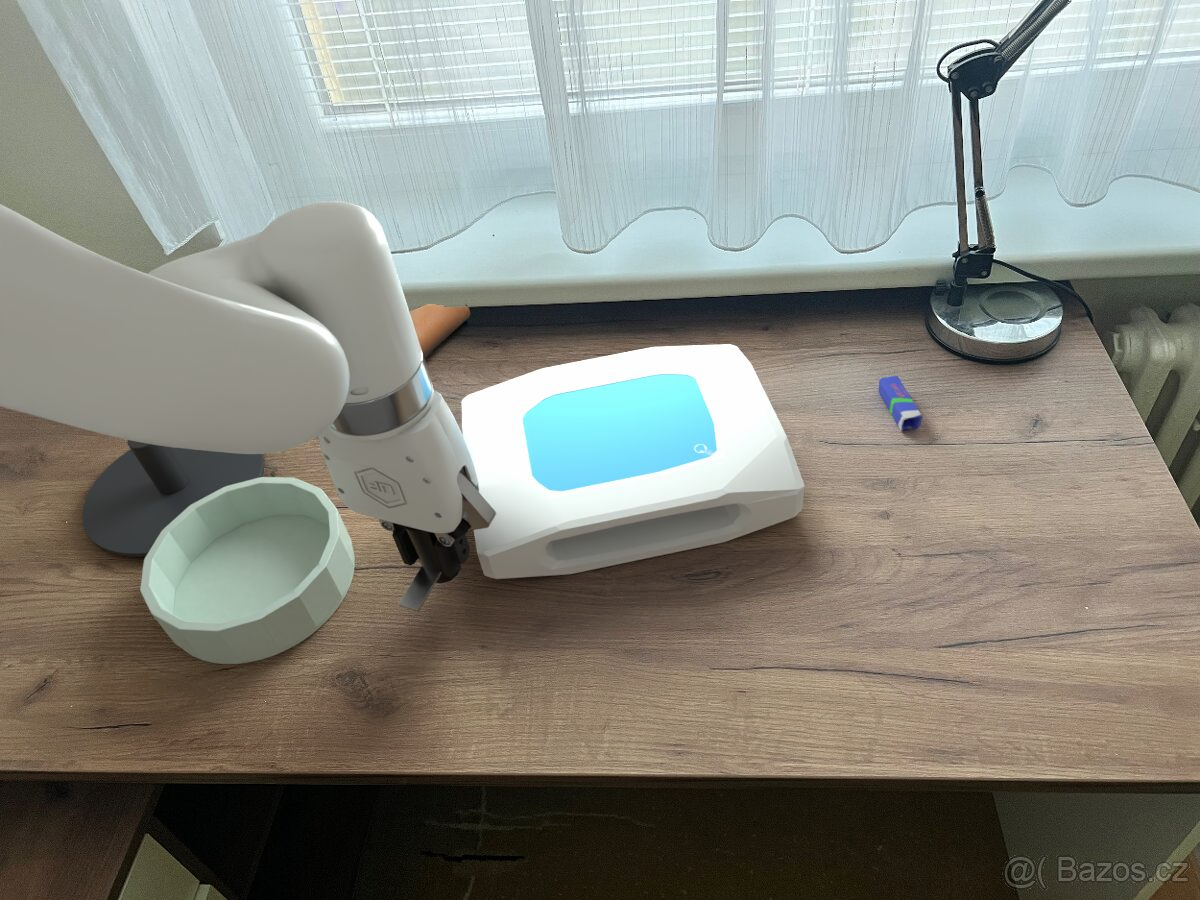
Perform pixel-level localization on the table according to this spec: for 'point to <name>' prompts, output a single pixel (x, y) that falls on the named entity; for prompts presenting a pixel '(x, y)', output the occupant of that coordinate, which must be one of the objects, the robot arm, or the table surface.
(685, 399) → the document scanner
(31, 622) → the table surface
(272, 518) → the bowl
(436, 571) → the blade
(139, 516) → the lid
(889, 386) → the eraser
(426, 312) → the sunglasses case
